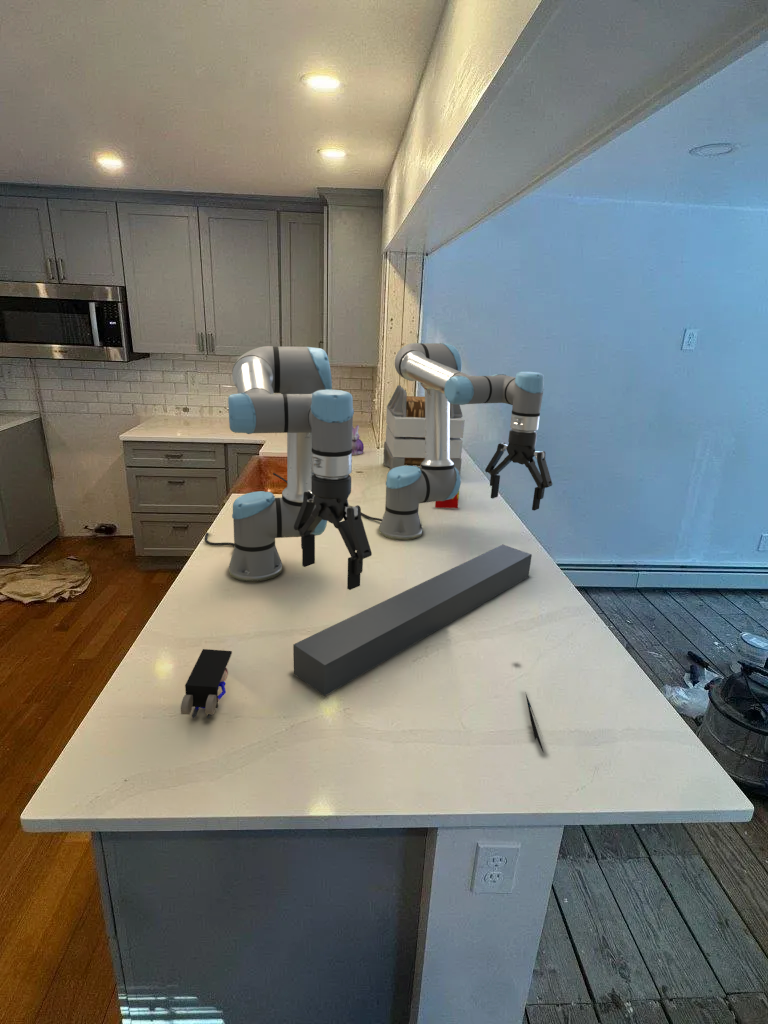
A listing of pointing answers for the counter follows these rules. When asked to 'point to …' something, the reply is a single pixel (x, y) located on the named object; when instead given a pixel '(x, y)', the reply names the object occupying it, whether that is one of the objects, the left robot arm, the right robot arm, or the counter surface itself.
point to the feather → (534, 723)
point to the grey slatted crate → (415, 431)
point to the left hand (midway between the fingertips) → (330, 575)
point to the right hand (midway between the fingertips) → (514, 503)
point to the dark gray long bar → (405, 619)
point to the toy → (448, 503)
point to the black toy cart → (206, 682)
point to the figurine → (356, 442)
